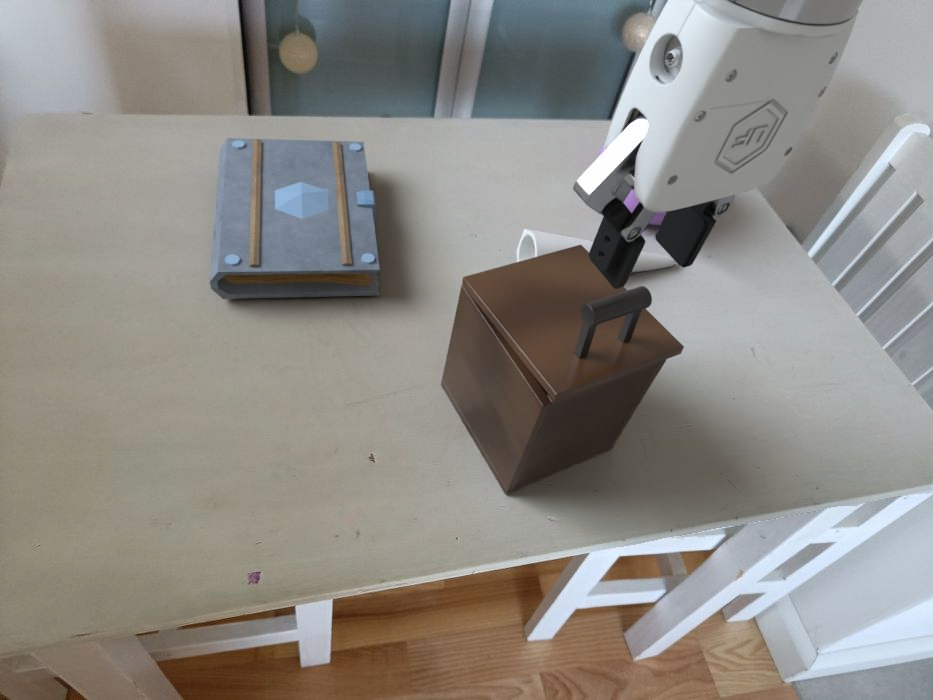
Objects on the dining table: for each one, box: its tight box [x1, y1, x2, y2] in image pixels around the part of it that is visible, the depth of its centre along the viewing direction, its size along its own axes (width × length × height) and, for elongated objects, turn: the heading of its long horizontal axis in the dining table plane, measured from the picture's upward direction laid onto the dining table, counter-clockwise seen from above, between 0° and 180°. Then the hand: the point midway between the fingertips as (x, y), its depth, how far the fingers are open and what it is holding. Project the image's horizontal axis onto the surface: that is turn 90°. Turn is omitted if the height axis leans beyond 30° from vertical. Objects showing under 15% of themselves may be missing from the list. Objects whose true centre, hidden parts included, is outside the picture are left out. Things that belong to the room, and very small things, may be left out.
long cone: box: [515, 228, 677, 273], centre depth 77 cm, size 6×6×19 cm
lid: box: [461, 245, 685, 402], centre depth 51 cm, size 13×12×6 cm
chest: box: [440, 284, 668, 496], centre depth 59 cm, size 13×12×14 cm
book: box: [209, 137, 381, 300], centre depth 74 cm, size 21×16×5 cm
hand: (640, 260), depth 44 cm, fingers open, 4 cm apart
